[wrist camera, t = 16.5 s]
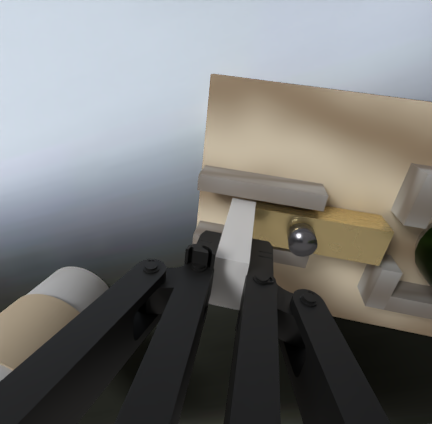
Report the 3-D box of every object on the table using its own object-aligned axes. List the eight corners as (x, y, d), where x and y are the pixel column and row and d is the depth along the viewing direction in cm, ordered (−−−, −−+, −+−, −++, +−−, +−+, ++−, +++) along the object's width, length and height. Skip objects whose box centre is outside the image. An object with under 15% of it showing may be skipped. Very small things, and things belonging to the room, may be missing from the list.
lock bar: (256, 194, 19) (254, 217, 16) (381, 215, 18) (403, 243, 15) (250, 225, 20) (247, 252, 17) (367, 246, 19) (386, 278, 16)
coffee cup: (133, 278, 26) (-10, 493, 13) (118, 339, 30) (-1, 549, 17) (40, 243, 26) (-199, 422, 13) (38, 309, 30) (-143, 495, 17)
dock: (214, 74, 17) (203, 74, 15) (660, 131, 15) (751, 145, 12) (194, 277, 25) (184, 304, 22) (492, 338, 22) (525, 376, 20)
